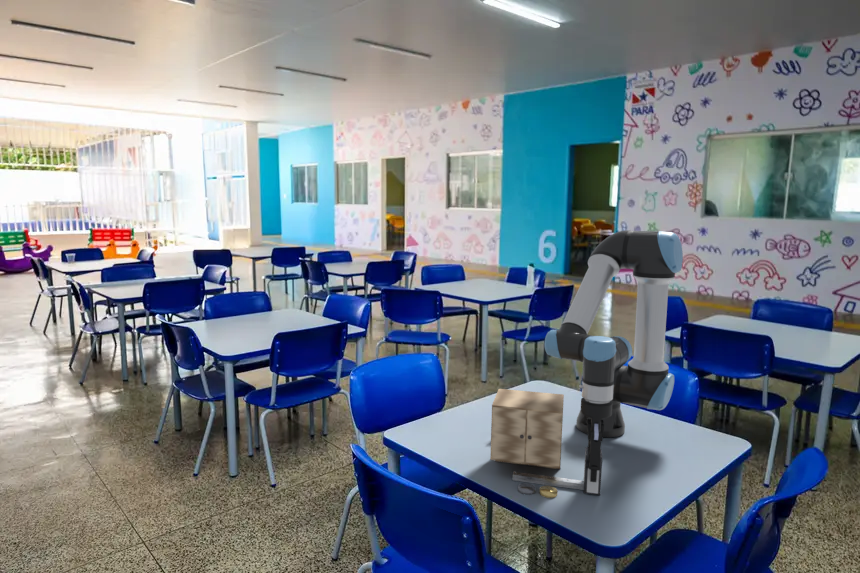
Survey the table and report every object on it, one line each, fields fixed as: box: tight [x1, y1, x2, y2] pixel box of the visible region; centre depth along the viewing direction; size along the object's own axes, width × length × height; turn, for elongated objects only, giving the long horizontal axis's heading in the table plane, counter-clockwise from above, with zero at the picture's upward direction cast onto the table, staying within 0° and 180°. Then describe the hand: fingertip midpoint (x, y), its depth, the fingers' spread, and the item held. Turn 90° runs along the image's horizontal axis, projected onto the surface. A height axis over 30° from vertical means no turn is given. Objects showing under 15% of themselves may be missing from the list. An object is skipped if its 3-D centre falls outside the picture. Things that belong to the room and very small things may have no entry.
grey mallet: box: [512, 446, 603, 496], centre depth 144 cm, size 22×5×10 cm, turn 75°
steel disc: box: [517, 482, 537, 496], centre depth 142 cm, size 4×4×1 cm
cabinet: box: [490, 388, 565, 470], centre depth 151 cm, size 18×15×20 cm
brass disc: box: [539, 485, 559, 499], centre depth 140 cm, size 4×4×1 cm
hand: (591, 486), depth 142 cm, fingers closed on grey mallet, 5 cm apart
